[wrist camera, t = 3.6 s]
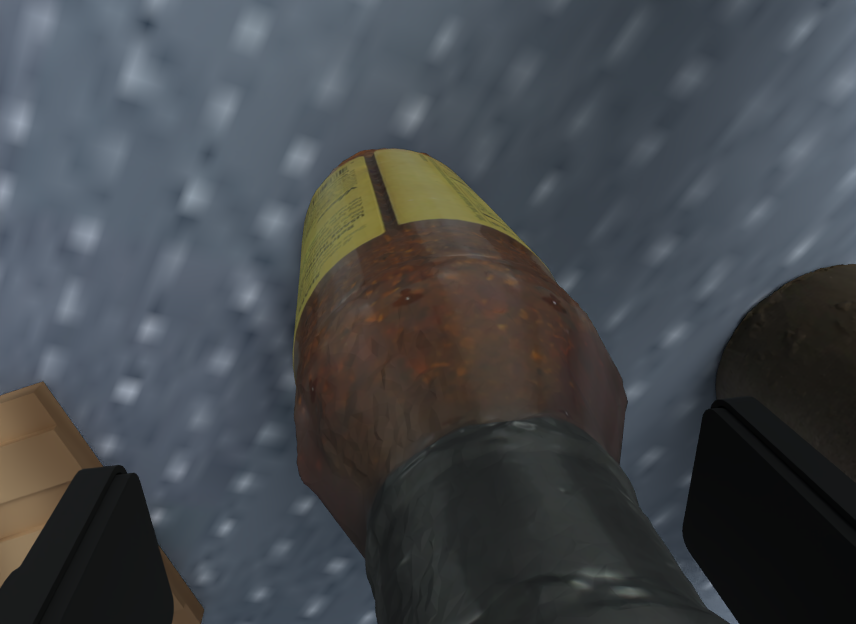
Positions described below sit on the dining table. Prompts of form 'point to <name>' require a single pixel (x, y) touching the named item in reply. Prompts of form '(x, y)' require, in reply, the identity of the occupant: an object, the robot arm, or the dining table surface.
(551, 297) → the sauce bottle
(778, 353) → the pillar candle
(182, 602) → the trivet
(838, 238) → the dining table surface
